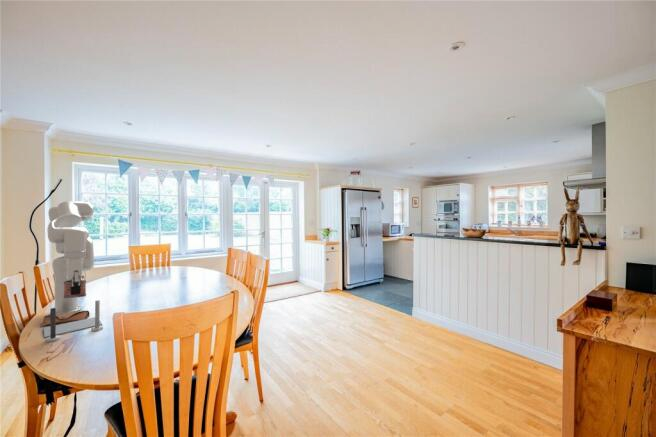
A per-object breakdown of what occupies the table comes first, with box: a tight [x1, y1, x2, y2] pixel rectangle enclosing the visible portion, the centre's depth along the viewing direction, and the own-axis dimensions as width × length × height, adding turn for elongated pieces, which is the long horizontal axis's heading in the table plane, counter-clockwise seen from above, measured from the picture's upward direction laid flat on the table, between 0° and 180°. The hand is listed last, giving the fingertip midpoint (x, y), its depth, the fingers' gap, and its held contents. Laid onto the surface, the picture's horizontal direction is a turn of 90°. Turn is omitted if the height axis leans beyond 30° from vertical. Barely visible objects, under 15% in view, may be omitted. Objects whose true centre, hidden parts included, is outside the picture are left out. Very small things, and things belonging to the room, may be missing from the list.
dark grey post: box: [45, 307, 61, 343], centre depth 120 cm, size 4×4×14 cm
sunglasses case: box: [39, 310, 90, 328], centre depth 141 cm, size 18×7×7 cm, turn 123°
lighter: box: [64, 274, 87, 298], centre depth 128 cm, size 8×3×10 cm, turn 114°
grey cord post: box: [90, 300, 104, 332], centre depth 131 cm, size 4×4×14 cm
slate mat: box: [43, 316, 103, 339], centre depth 133 cm, size 14×20×1 cm
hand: (75, 292), depth 128 cm, fingers closed on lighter, 4 cm apart
